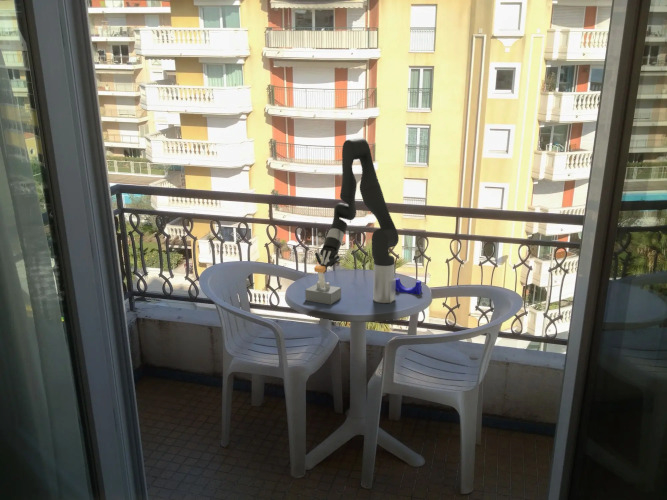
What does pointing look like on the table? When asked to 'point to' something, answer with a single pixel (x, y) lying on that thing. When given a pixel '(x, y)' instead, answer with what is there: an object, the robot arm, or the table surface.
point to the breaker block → (323, 293)
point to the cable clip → (414, 290)
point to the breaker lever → (320, 274)
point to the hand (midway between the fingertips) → (321, 273)
